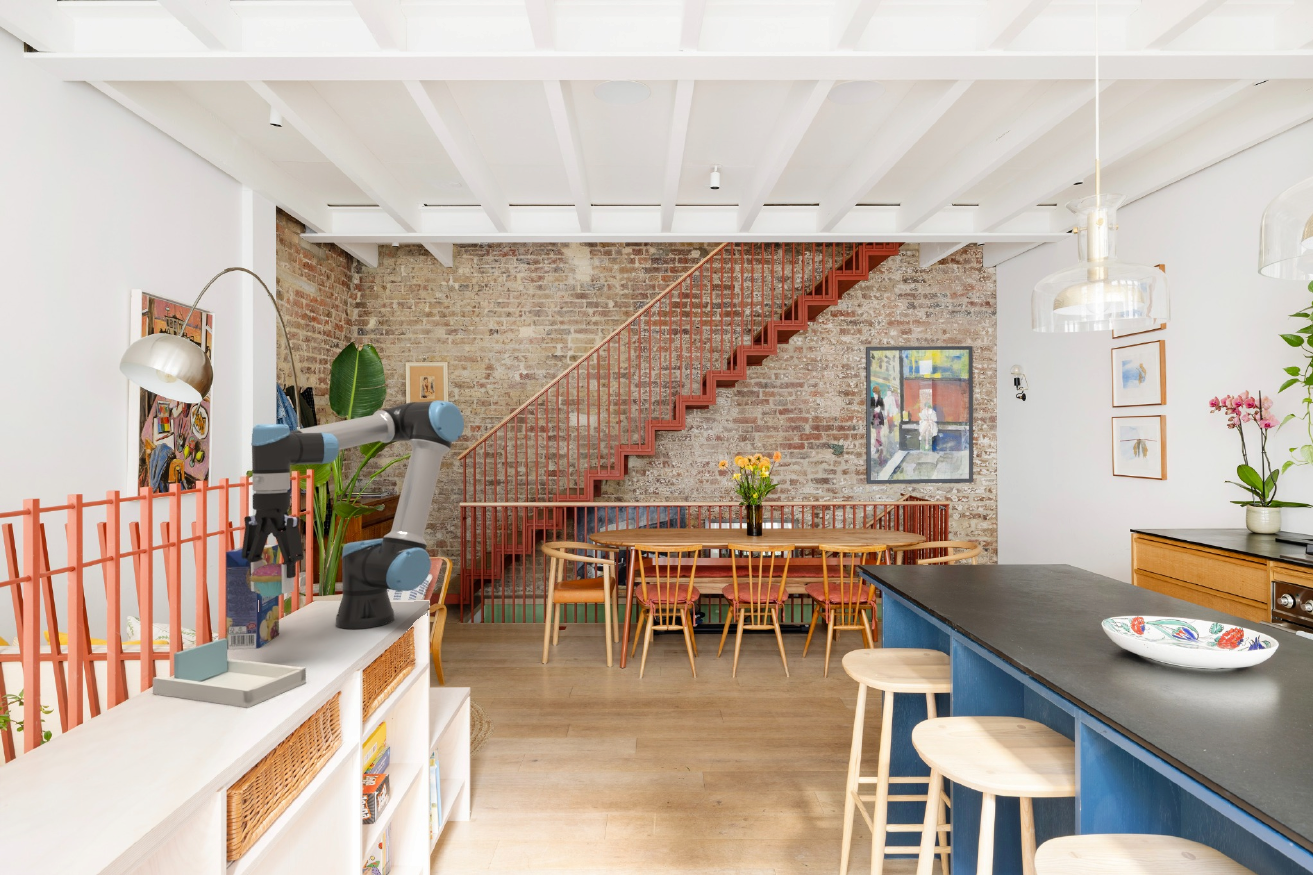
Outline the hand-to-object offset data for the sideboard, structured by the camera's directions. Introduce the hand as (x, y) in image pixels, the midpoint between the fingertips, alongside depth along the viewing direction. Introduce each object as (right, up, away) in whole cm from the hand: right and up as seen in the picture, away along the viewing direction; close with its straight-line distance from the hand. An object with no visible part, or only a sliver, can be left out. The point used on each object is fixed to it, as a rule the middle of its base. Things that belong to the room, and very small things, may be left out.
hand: (272, 590), depth 157 cm
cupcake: (0, -1, 0) cm, 1 cm away
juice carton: (-15, -17, +18) cm, 29 cm away
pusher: (-10, -16, -12) cm, 22 cm away
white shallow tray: (0, -17, -15) cm, 22 cm away
